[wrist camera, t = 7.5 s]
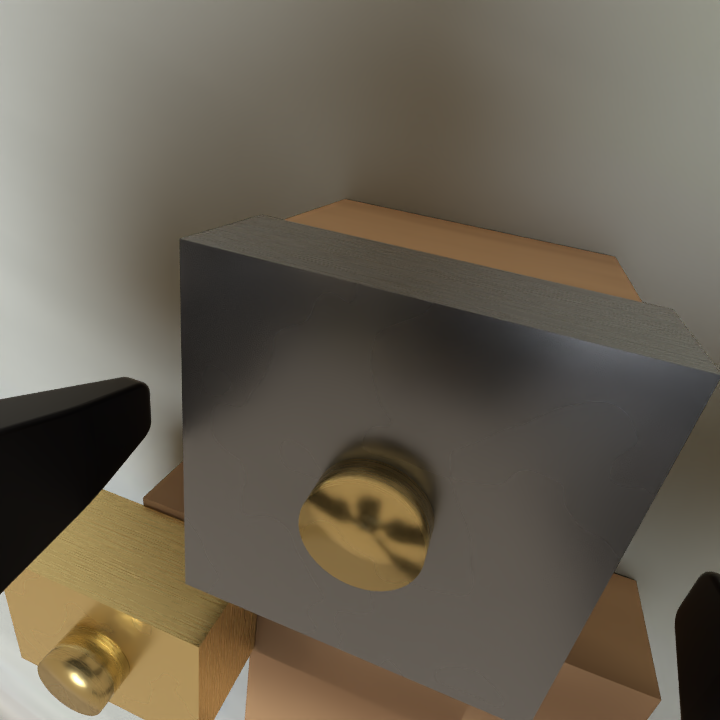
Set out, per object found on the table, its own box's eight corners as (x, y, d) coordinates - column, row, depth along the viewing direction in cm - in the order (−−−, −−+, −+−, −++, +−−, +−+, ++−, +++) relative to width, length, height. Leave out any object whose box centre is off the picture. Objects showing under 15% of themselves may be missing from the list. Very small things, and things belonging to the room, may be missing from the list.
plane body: (477, 852, 19) (458, 1058, 15) (207, 720, 22) (125, 863, 18) (802, 296, 9) (1047, 450, 5) (216, 171, 12) (22, 194, 7)
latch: (253, 647, 13) (175, 787, 10) (99, 579, 14) (-9, 688, 12) (262, 552, 12) (171, 687, 9) (87, 483, 13) (-43, 583, 10)
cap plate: (529, 615, 10) (526, 771, 8) (245, 508, 11) (164, 609, 9) (672, 309, 7) (742, 402, 5) (262, 214, 8) (148, 248, 6)
